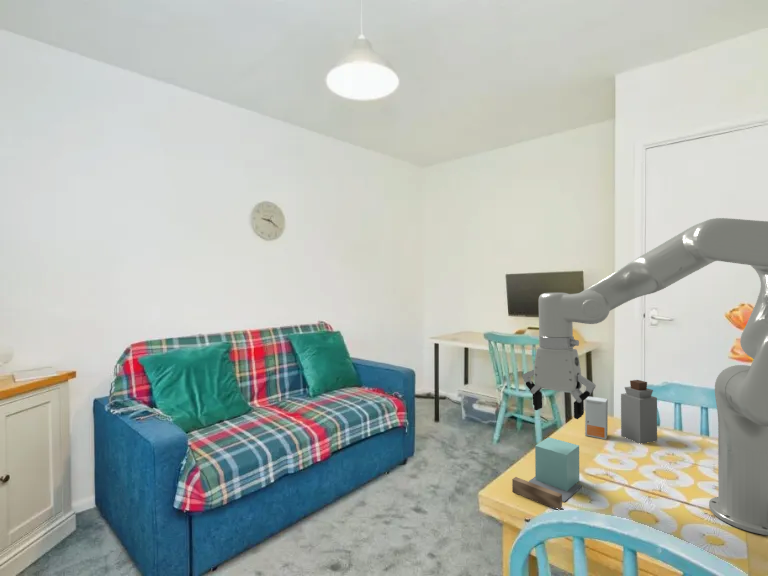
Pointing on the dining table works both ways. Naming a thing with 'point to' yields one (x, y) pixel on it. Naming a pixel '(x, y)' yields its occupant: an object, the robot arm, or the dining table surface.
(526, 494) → the stopper rail
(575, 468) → the teal tissue box
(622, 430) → the perfume bottle
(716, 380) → the robot arm
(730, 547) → the dining table surface
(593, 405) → the skincare box
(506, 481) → the dining table surface
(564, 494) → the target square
